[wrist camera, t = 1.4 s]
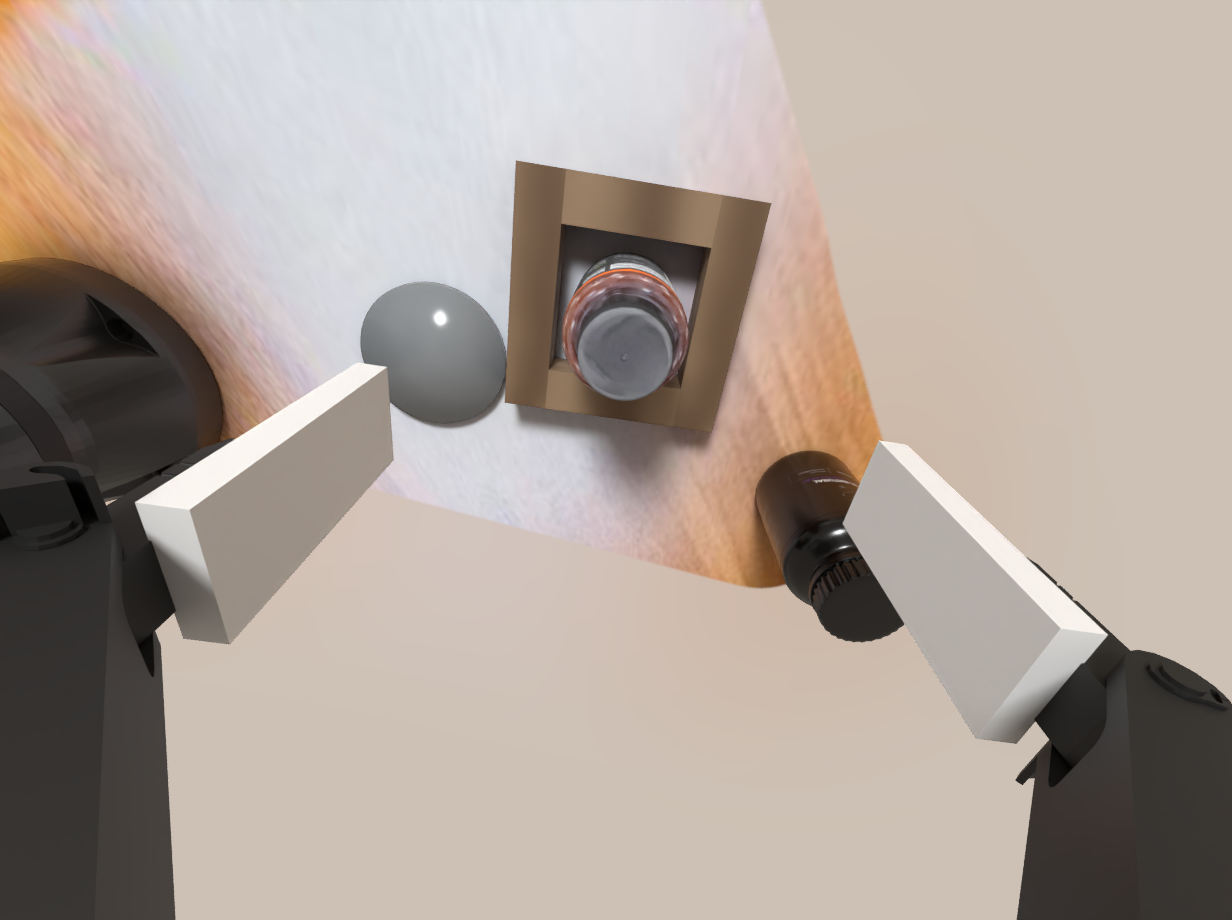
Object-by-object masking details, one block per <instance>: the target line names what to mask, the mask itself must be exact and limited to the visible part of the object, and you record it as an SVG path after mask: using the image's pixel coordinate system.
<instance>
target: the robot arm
mask: <svg viewBox="0 0 1232 920" xmlns="http://www.w3.org/2000/svg"><path fill="white" fill-rule="evenodd" d="M221 428H222V406H221V400H220V395H219V392H218V388H217V385H216V382H215V380H214V377H213V375H212V373H211V371H210V369H209V367H208V365H207V363H206V361H205V359H204V358H203V356H202V354H201V353H200V351H199V350H198V348H197V347H196V345H195V344H194V343H193V341H192V340H191V339H190V338H189V336H188V335H187V334H186V333H185V331H184V330H183V329H182V328H181V327H180V326H179V325H178V324H177V323H176V322H175V321H174V320H173V319H172V318H171V317H170V316H169V315H168V314H167V313H166V312H165V311H164V310H163V309H162V308H160V307H159V306H158V305H157V304H155V303H154V302H153V301H152V300H150V299H149V298H148V297H146V296H145V295H144V294H142V293H141V292H139V291H138V290H136V289H135V288H133V287H132V286H130V285H128V284H126V283H125V282H123V281H121V280H119V279H117V278H115V277H114V276H112V275H109V274H107V273H105V272H103V271H100V270H98V269H95V268H93V267H90V266H87V265H83V264H80V263H76V262H72V261H67V260H62V259H54V258H30V259H22V260H14V261H6V262H0V920H175V904H174V903H175V902H174V884H173V865H172V846H171V830H170V829H171V828H170V809H169V792H168V773H167V755H166V735H165V717H164V699H163V680H162V662H161V661H162V660H161V645H160V642H159V640H158V637H157V635H156V632H155V630H156V629H157V628H158V627H159V626H160V625H161V624H162V623H164V622H165V621H166V620H167V619H168V618H169V617H170V616H171V615H172V614H173V613H175V616H176V619H177V622H178V624H179V627H180V630H181V633H182V636H183V638H184V639H191V640H199V641H207V642H216V643H223V644H231V642H232V641H233V640H234V639H235V638H236V637H237V636H238V635H239V633H240V632H241V631H242V630H243V629H244V628H245V627H246V626H247V624H248V623H249V622H250V621H251V620H252V619H253V618H254V617H255V615H256V614H257V613H258V612H259V611H260V610H261V609H262V608H263V606H264V605H265V604H266V603H267V602H268V601H269V600H270V598H271V597H272V596H273V595H274V594H275V593H276V592H277V591H278V590H279V588H280V587H281V586H282V585H283V584H284V583H285V582H286V580H287V579H288V578H289V577H290V576H291V575H292V574H293V573H294V571H295V570H296V569H297V568H298V567H299V566H300V565H301V563H302V562H303V561H304V560H305V559H306V558H307V557H308V556H309V555H310V553H311V552H312V551H313V550H314V549H315V548H316V547H317V546H318V544H319V543H320V542H321V541H322V540H323V539H324V538H325V537H326V535H327V534H328V533H329V532H330V531H331V530H332V529H333V528H334V526H335V525H336V524H337V523H338V522H339V521H340V520H341V518H342V517H343V516H344V515H345V514H346V513H347V512H348V511H349V510H350V508H351V507H352V506H353V505H354V504H355V503H356V502H357V501H358V499H359V498H360V497H361V496H362V495H363V494H364V493H365V492H366V490H367V489H368V488H369V487H370V486H371V485H372V484H373V482H374V481H375V480H376V479H377V478H378V477H379V476H380V475H381V473H382V472H383V471H384V470H385V469H386V468H387V467H388V466H389V464H390V463H391V462H392V461H393V460H394V459H393V445H392V430H391V415H390V401H389V386H388V372H387V367H384V366H377V365H370V364H364V363H356V364H354V365H353V366H351V367H349V368H348V369H346V370H345V371H343V372H341V373H340V374H338V375H337V376H335V377H333V378H332V379H330V380H329V381H327V382H326V383H324V384H322V385H321V386H319V387H318V388H316V389H314V390H313V391H311V392H310V393H308V394H306V395H305V396H303V397H302V398H300V399H298V400H297V401H295V402H294V403H292V404H290V405H289V406H287V407H286V408H284V409H283V410H281V411H279V412H278V413H276V414H275V415H273V416H271V417H270V418H268V419H267V420H265V421H263V422H262V423H260V424H259V425H257V426H255V427H254V428H252V429H251V430H249V431H248V432H246V433H244V434H243V435H241V436H240V437H238V438H236V439H228V440H225V441H222V442H219V443H217V442H218V440H219V437H220V433H221ZM115 499H117V500H116V501H113V502H112V503H110V504H108V505H107V506H106V504H105V502H107V501H111V500H115ZM843 525H844V527H845V529H846V530H847V532H848V533H849V535H850V537H851V538H852V540H853V541H854V543H855V545H856V546H857V548H858V550H859V551H860V553H861V554H862V556H863V558H864V559H865V561H866V562H867V564H868V566H869V567H870V569H871V571H872V572H873V574H874V575H875V577H876V579H877V580H878V582H879V583H880V585H881V587H882V588H883V590H884V591H885V593H886V595H887V596H888V598H889V600H890V601H891V603H892V604H893V606H894V608H895V609H896V611H897V612H898V614H899V616H900V617H901V619H902V621H903V622H904V624H905V625H906V627H907V629H908V630H909V632H910V633H911V635H912V636H913V638H914V640H915V642H916V643H917V645H918V646H919V648H920V650H921V651H922V653H923V654H924V656H925V658H926V659H927V661H928V663H929V664H930V666H931V667H932V669H933V671H934V672H935V674H936V675H937V677H938V678H939V680H940V682H941V683H942V685H943V687H944V688H945V690H946V692H947V693H948V695H949V696H950V698H951V700H952V701H953V703H954V704H955V706H956V708H957V709H958V711H959V712H960V714H961V716H962V717H963V719H964V720H965V722H966V724H967V725H968V727H969V729H970V730H971V732H972V733H973V735H974V737H975V738H977V739H984V740H992V741H1000V742H1008V743H1015V744H1016V743H1017V742H1018V741H1019V740H1020V739H1021V738H1022V736H1023V735H1024V734H1025V733H1026V732H1027V731H1028V729H1029V728H1030V727H1031V726H1032V725H1033V723H1034V722H1035V721H1036V722H1037V724H1038V725H1039V726H1040V727H1041V729H1042V730H1043V732H1044V733H1045V734H1046V736H1047V737H1048V738H1049V741H1048V742H1047V743H1046V744H1045V745H1044V747H1043V748H1042V749H1041V750H1040V751H1039V752H1038V753H1037V754H1036V755H1035V757H1034V758H1033V759H1032V760H1031V761H1030V762H1029V763H1028V764H1027V766H1026V767H1025V768H1024V769H1023V770H1022V771H1021V772H1020V774H1019V775H1018V777H1017V779H1016V781H1017V782H1018V783H1020V784H1022V785H1023V784H1024V783H1025V782H1026V781H1027V780H1028V778H1035V782H1034V789H1033V797H1032V805H1031V813H1030V820H1029V828H1028V836H1027V844H1026V852H1025V860H1024V867H1023V876H1022V883H1021V892H1020V899H1019V907H1018V914H1017V920H1232V704H1231V702H1230V701H1229V699H1227V698H1226V697H1225V695H1224V694H1223V693H1221V692H1220V691H1219V690H1218V689H1217V688H1216V687H1215V686H1213V685H1212V684H1210V683H1209V682H1208V681H1206V680H1205V679H1203V678H1202V677H1201V676H1199V675H1198V674H1196V673H1195V672H1193V671H1191V670H1189V669H1187V668H1186V667H1184V666H1182V665H1180V664H1178V663H1176V662H1175V661H1172V660H1170V659H1168V658H1165V657H1162V656H1160V655H1157V654H1155V653H1151V652H1146V651H1141V650H1134V651H1130V650H1129V649H1128V648H1127V647H1126V646H1125V645H1124V644H1123V643H1121V642H1120V641H1119V640H1118V639H1117V638H1116V637H1115V636H1114V635H1113V634H1112V633H1111V632H1110V631H1109V630H1107V629H1106V628H1105V627H1104V626H1103V625H1102V624H1101V623H1100V622H1099V621H1098V620H1097V619H1096V618H1095V617H1094V616H1093V615H1091V614H1090V613H1089V612H1088V611H1087V610H1086V609H1085V608H1084V607H1083V606H1082V605H1081V604H1080V603H1079V602H1077V601H1073V599H1072V598H1073V597H1072V596H1071V595H1070V594H1069V593H1068V592H1067V591H1066V590H1065V589H1063V588H1062V587H1061V586H1058V585H1057V582H1056V581H1055V580H1054V579H1053V578H1052V577H1051V576H1050V575H1049V574H1047V573H1046V572H1045V571H1044V570H1043V569H1042V568H1041V567H1040V566H1039V565H1038V564H1036V563H1035V562H1033V561H1032V560H1030V559H1029V558H1027V557H1025V556H1024V555H1023V554H1022V553H1021V552H1020V551H1018V550H1017V549H1016V548H1015V547H1014V546H1013V545H1012V544H1011V543H1010V542H1009V541H1008V540H1007V539H1006V538H1005V537H1004V536H1003V535H1001V533H1000V532H998V531H997V530H996V529H995V528H994V527H993V526H992V525H991V524H990V523H989V522H988V521H987V520H986V519H985V518H984V517H982V516H981V515H980V514H979V513H978V512H977V511H976V510H975V509H974V508H973V507H972V506H971V505H970V504H969V503H968V502H967V501H966V500H965V499H963V498H962V497H961V496H960V495H959V494H958V493H957V492H956V491H955V490H954V489H953V488H952V487H951V486H950V485H949V484H947V483H946V482H945V481H944V480H943V479H942V478H941V477H940V476H939V475H938V474H937V473H936V472H935V471H934V470H933V469H932V468H931V467H930V466H929V465H927V464H926V463H925V462H924V461H923V460H922V459H921V458H920V457H919V456H918V455H917V454H916V453H915V452H913V450H911V449H910V448H909V447H908V446H907V445H905V444H899V443H892V442H886V441H878V443H877V446H876V448H875V450H874V453H873V455H872V457H871V460H870V462H869V464H868V466H867V469H866V471H865V473H864V476H863V478H862V480H861V483H860V485H859V487H858V489H857V492H856V494H855V496H854V499H853V501H852V503H851V505H850V508H849V510H848V512H847V515H846V517H845V519H844V522H843Z"/></svg>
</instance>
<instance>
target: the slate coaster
mask: <svg viewBox="0 0 1232 920" xmlns="http://www.w3.org/2000/svg"><path fill="white" fill-rule="evenodd" d="M361 352H362V357H363V361H364V364H370V365H377V366H384V367H387V372H388V386H389V401H390V402H391V403H392V404H394V405H395V406H396V407H398V408H399V409H400V410H402V411H404V412H406V413H407V414H409V415H412V416H414V417H416V418H419V419H422V420H425V421H430V422H435V423H454V422H460V421H464V420H467V419H470V418H472V417H474V416H476V415H478V414H479V413H481V412H482V411H483V410H485V409H486V408H487V407H488V406H489V405H490V404H491V403H492V401H493V400H494V399H495V397H496V396H497V394H498V392H499V391H500V389H501V386H502V384H503V381H504V378H505V374H506V352H505V346H504V343H503V340H502V337H501V335H500V332H499V330H498V328H497V326H496V325H495V323H494V321H493V320H492V318H491V317H490V316H489V314H488V313H487V312H486V311H485V310H484V309H483V308H482V307H481V306H480V305H479V304H478V303H477V302H476V301H475V300H473V299H472V298H471V297H469V296H468V295H466V294H465V293H463V292H461V291H459V290H457V289H455V288H452V287H450V286H447V285H444V284H439V283H435V282H413V283H408V284H404V285H402V286H399V287H396V288H394V289H392V290H390V291H388V292H387V293H385V294H384V295H382V296H381V297H380V298H378V300H377V301H376V302H375V303H374V304H373V305H372V306H371V308H370V309H369V311H368V312H367V315H366V317H365V319H364V322H363V326H362V330H361Z"/></svg>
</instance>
